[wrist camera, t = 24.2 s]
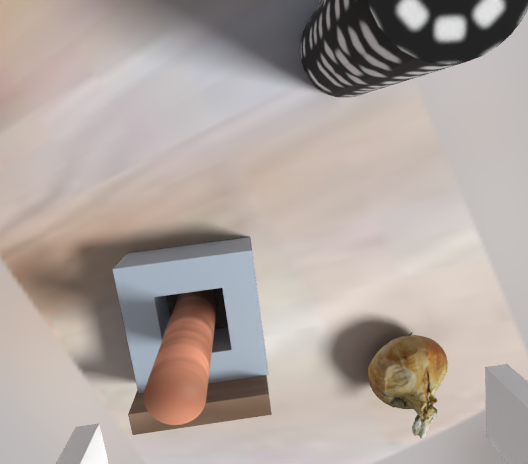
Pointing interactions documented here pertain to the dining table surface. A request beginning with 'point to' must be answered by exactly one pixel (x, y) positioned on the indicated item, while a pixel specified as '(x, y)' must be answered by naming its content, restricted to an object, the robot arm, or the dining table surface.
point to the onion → (409, 376)
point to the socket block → (190, 280)
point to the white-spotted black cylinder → (399, 39)
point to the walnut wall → (212, 405)
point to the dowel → (183, 361)
